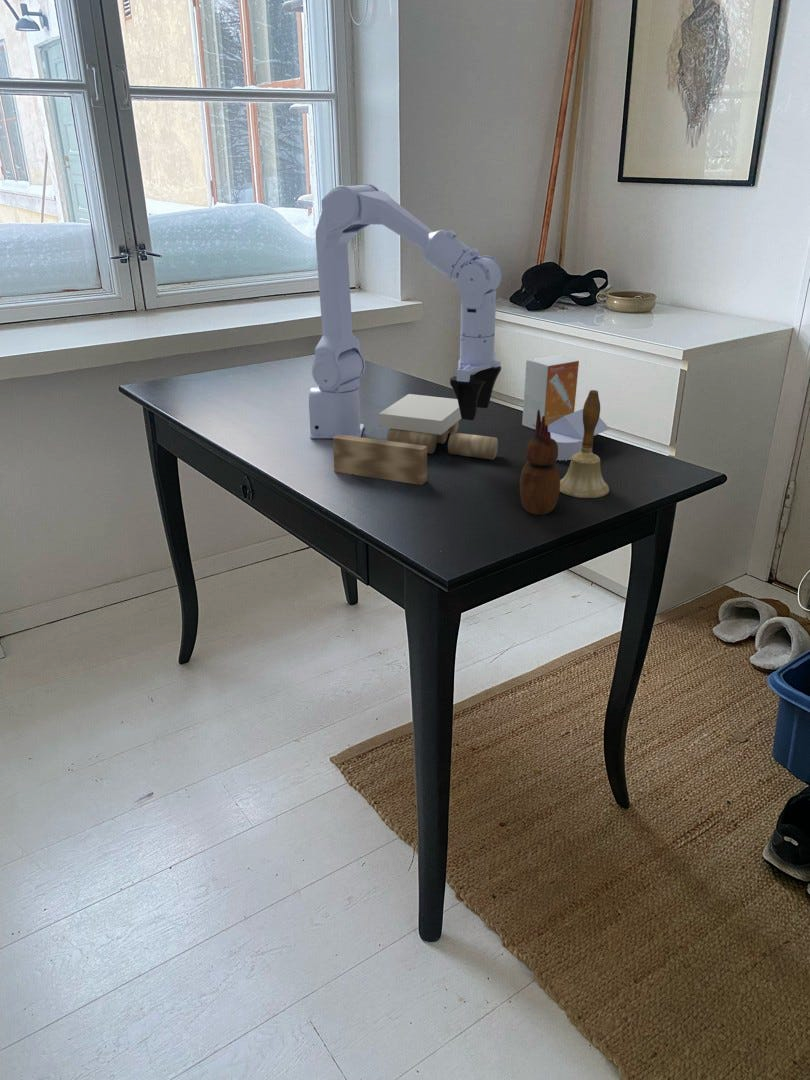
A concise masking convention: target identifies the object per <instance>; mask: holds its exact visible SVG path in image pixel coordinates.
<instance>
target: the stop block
mask: <svg viewBox="0 0 810 1080" xmlns="http://www.w3.org/2000/svg"><path fill="white" fill-rule="evenodd" d="M332 447H333V448H332V449H333V471H334V472H335V473H339V472H341V474H346V473H347V475H352V474H354V476H360V477H366V478H374V479H380V480H387V481H394V482H400V483H406V484H414V485H420V486H423V485H424V484H426V483H427V481H428V453H427V446H423V445H416V444H408V443H400V442H393V441H387V440H385V439H384V440H383V439H376V438H368V437H362V436H361V437H355V436H347V435H340V434H338V435H336V436H335V437H333V438H332Z"/></svg>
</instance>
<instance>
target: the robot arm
mask: <svg viewBox="0 0 810 1080" xmlns="http://www.w3.org/2000/svg"><path fill="white" fill-rule="evenodd" d="M370 225H382V226H384V227H386V228H387V229H389V230H391V231H392V232H394V233H396V235H399V236H400V237H402V238H403V239H404V240H406V241H407V242H409V243H411V244H413V245H414V246H416V247H417V248H419V249H420V250H421V253H422V258H423V260H424V262H425V263H427V264H428V265H430V266H431V267H433V268H434V269H435V270H437V271H438V272H439V273H441V275H442V274H443V275H444V276H445V277H447V278H448V279H449V280H451V281H452V282H454V283H455V286H456V289H457V291H458V292H459V294H460V296H461V298H460V299H461V300H460V301H461V303H460V304H461V305H460V329H459V330H460V335H459V359H458V368H457V369H456V375H455V376H454V375H453V376H451V378H450V379H449V384H450V386H451V388H452V389H453V392H454V394H455V397H456V399H457V400H458V404H459V409H460V414H461V419H462V420H465V421H466V420H468V421H474V420H475V418H476V414H477V409H478V408H480V409H487V408H489V405H490V402H491V398H492V393H493V390H494V386H495V384H496V381H497V378H498V376H499V374H500V372H501V371H502V366H501V361H500V360H495V359H496V358H495V357H496V352H495V334H496V310H497V305H496V302H497V301H496V300H497V290H496V289H498V287H499V286H500V285H501V283H502V280H503V279H502V278H503V270H502V268H501V266H500V264H499V262H497V261H496V260H495V258H494V257H493V256H490V255H482V256H481V255H480V251H479V250H478V249H477V248H471V247H469V246H468V245H466V244H465V243H463V242H462V240H461V241H460V240H459V239H458V238H457V236H458V235H457V233H456V232H455V231H453V230H452V229H450V230H447V231H446V230H445V229H439V230H436V231H433V230H432V229H431V228H429V227H428V226H427V225H426V224H425V223H423V222H422V221H420V219H418V218H417V217H416V216H414V215H413V214H412V213H410V211H408V210H406V209H405V208H404V207H403V206H401V205H400V203H398V202H397V201H396V200H394V199H393V198H392V197H391V196H390V195H389V193H387V192H386V191H383V190H380V189H379V188H378V187H377V186H375V185H373V184H371V183H364V184H363V183H362V184H361V185H338V186H335V187H333V188H332V189H331V190H329V192H328V193H327V194H326V195H325V196H324V197H323V198H322V199H321V214H320V218H319V220H318V223H317V226H316V229H315V246H316V247H315V249H316V262H317V263H316V264H317V275H318V276H317V277H318V289H319V303H320V317H321V331H322V332H321V333H322V336H321V338H320V340H319V341H318V343H317V344H316V346H315V348H314V361H313V363H312V367H311V375H312V377H313V378H312V379H313V380H314V382H315V384H316V385H317V386H313V387H310V389H309V393H308V410H309V412H308V413H309V414H308V415H309V428H310V435H309V438H310V439H333V437H335V436H336V435H338V434H340V435H347V436H355V437H362V434H363V430H364V427H365V425H364V424H363V423H361V419H360V418H361V416H360V413H361V412H360V378H361V377H362V376H363V375H364V373H365V371H366V361H365V358H364V355H363V353H362V351H361V343H360V341H359V340H358V338H357V337H356V336H355V335H354V333H353V323H352V322H353V320H352V319H353V317H352V303H351V302H352V299H351V287H350V284H351V282H350V268H349V267H350V266H349V265H350V263H349V247H348V244H349V242H350V241H351V240H352V239H353V238H354V237H355V236H356V235H357V234H358V233H359V232H360V231H361V230H362V229H364V228H366V227H368V226H370Z"/></svg>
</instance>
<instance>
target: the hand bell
mask: <svg viewBox="0 0 810 1080" xmlns="http://www.w3.org/2000/svg"><path fill="white" fill-rule="evenodd" d="M582 409H583V425H584V436H583V443H582V447H581V451H580V452H579V453H576V454H574V455H573V456H572V458H571V461H569V466H568V469H567V472H566V473H565V475H564V476H563V477H562V478H560V492H559V493H562V494H563V495H566V496H570V497H573V498H580V499H596V498H601V497H604V496H607V494H609V492H610V488H609V485H608V483H606V481H605V480H604V478H603V476H602V472H601V471H602V470H601V458H600V457H599V456H598V455H597V454H595V453H593V447H594V430H595V427H596V425H597V423H598V420H599V417H600V414H601V402H600V396H599V391H598V390H594V389H592V390H589V392H588V394H587V397H586V400H585V401H584V405H583V408H582Z"/></svg>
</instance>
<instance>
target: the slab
mask: <svg viewBox="0 0 810 1080" xmlns="http://www.w3.org/2000/svg"><path fill="white" fill-rule="evenodd" d="M461 419H462V418H461V414H460V409H459V404H458V400H457V398H449V397H439V396H430V395H421V394H413V393H408V394H406V395H404V396H403V397H402V398H400V399H398V400H397V401H395V402H394V403H393V404H391V405H390V406H388V407H387V408H385V409H383V410H382V411H380V412H379V413H378V427H379V428H384V429H385V428H386V429H390V428H392V429H400V430H407V431H415V432H423V433H431V434H439V435H442V434H443V433H444V432H445V431H447V430H448V429H449V428H450V427H451V426H453V425H454V424H455V423H456V422H457V421H459V422H460V420H461Z"/></svg>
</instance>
